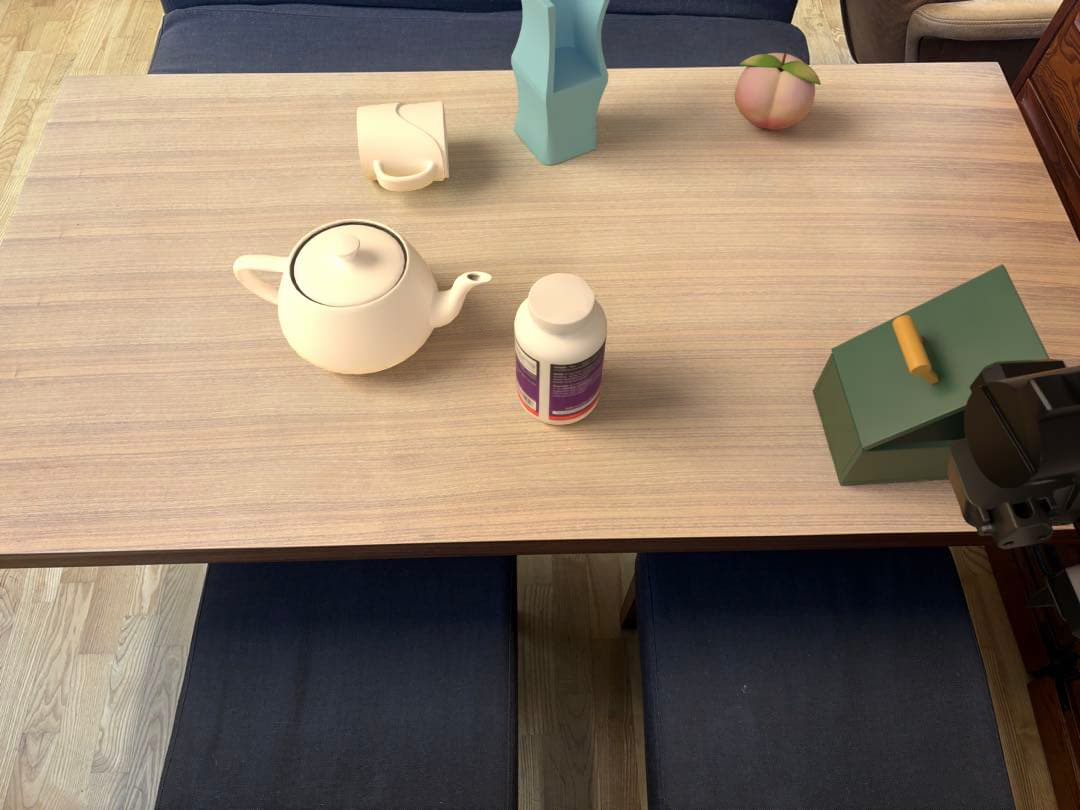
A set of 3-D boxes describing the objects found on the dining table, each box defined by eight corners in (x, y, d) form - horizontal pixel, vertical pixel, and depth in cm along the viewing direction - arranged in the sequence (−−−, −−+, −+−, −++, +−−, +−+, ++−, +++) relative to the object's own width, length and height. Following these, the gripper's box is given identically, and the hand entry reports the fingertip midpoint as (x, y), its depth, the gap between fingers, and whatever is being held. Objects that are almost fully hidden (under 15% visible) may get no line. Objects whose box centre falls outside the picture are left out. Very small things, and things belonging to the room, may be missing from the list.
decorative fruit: (806, 110, 105) (830, 37, 97) (800, 153, 101) (824, 81, 93) (731, 97, 107) (748, 24, 98) (721, 139, 102) (738, 66, 94)
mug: (368, 143, 101) (357, 86, 95) (447, 139, 102) (441, 82, 95) (367, 215, 95) (354, 159, 88) (451, 211, 95) (445, 154, 89)
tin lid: (1005, 267, 69) (986, 241, 66) (1056, 372, 63) (1037, 348, 60) (834, 351, 77) (810, 331, 74) (865, 450, 72) (841, 433, 69)
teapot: (229, 376, 83) (187, 294, 72) (277, 258, 91) (245, 170, 81) (482, 406, 81) (475, 326, 71) (507, 283, 90) (504, 196, 79)
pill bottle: (609, 373, 83) (623, 275, 71) (585, 439, 79) (595, 347, 67) (532, 351, 85) (532, 251, 73) (504, 415, 81) (499, 320, 68)
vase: (544, 168, 99) (547, 8, 82) (512, 129, 103) (509, -32, 86) (602, 146, 101) (616, -14, 85) (568, 109, 105) (576, -52, 88)
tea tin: (956, 383, 83) (985, 345, 78) (994, 477, 78) (1027, 442, 72) (812, 390, 82) (831, 353, 77) (839, 485, 77) (862, 451, 72)
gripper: (945, 308, 53) (862, 437, 66) (1067, 598, 42) (941, 682, 56) (1119, 300, 53) (1003, 430, 66) (1281, 584, 43) (1105, 671, 56)
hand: (1008, 543), depth 61 cm, fingers open, 9 cm apart
